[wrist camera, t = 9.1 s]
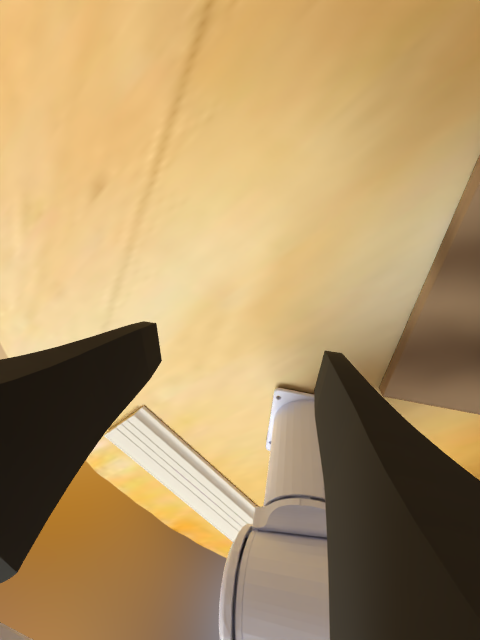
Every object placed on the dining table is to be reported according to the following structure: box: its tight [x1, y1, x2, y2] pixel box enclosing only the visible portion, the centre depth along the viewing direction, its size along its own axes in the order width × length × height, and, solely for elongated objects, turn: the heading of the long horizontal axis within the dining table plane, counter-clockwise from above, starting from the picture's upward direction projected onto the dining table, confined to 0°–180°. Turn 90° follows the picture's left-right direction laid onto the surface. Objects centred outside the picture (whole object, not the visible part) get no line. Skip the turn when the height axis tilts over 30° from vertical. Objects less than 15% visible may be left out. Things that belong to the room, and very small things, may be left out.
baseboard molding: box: [104, 406, 257, 542], centre depth 33 cm, size 31×3×12 cm
